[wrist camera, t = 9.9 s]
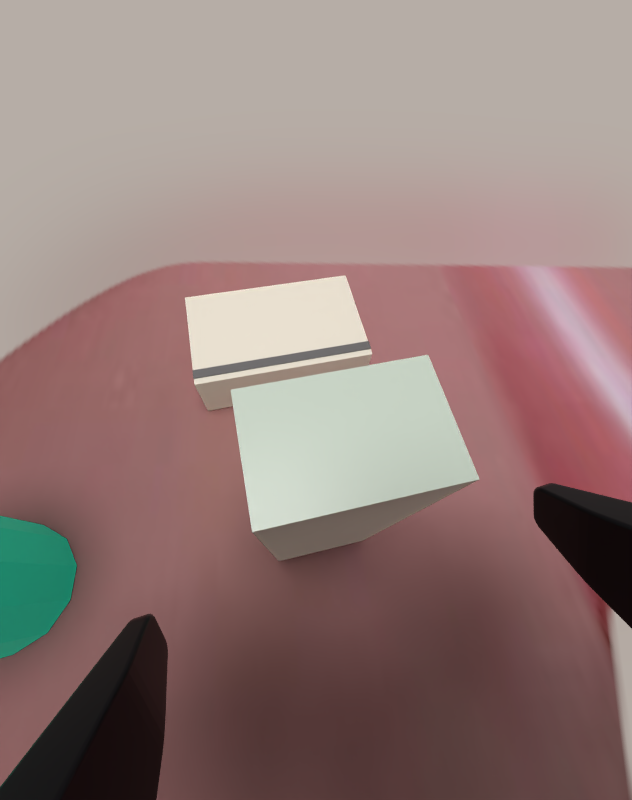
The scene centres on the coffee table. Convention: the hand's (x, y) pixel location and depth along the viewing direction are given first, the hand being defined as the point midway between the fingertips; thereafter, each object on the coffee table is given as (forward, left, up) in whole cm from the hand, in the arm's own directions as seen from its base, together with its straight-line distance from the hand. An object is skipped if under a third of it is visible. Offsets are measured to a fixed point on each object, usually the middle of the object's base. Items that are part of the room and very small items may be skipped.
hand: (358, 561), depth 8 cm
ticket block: (+10, -9, -13) cm, 18 cm away
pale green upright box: (+2, -2, -13) cm, 13 cm away
